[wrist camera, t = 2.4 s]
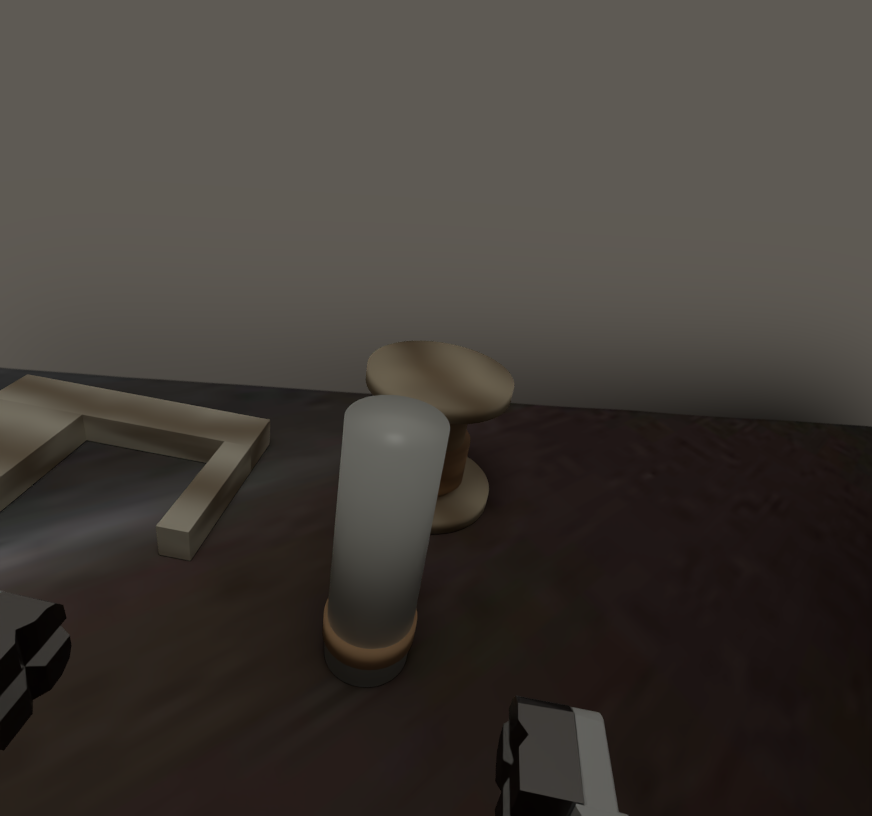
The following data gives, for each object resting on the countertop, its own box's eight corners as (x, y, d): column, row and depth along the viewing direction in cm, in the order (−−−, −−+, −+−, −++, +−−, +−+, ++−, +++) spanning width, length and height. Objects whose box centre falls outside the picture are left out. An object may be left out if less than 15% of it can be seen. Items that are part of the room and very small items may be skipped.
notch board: (32, 399, 43) (27, 374, 42) (269, 443, 42) (269, 419, 41) (-123, 500, 32) (-135, 470, 31) (190, 560, 32) (188, 532, 31)
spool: (433, 440, 46) (451, 333, 42) (513, 507, 40) (544, 391, 36) (330, 470, 41) (339, 351, 36) (405, 552, 35) (426, 422, 30)
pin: (379, 602, 31) (410, 385, 25) (427, 663, 28) (476, 436, 22) (304, 636, 29) (319, 405, 22) (350, 706, 26) (381, 465, 20)
